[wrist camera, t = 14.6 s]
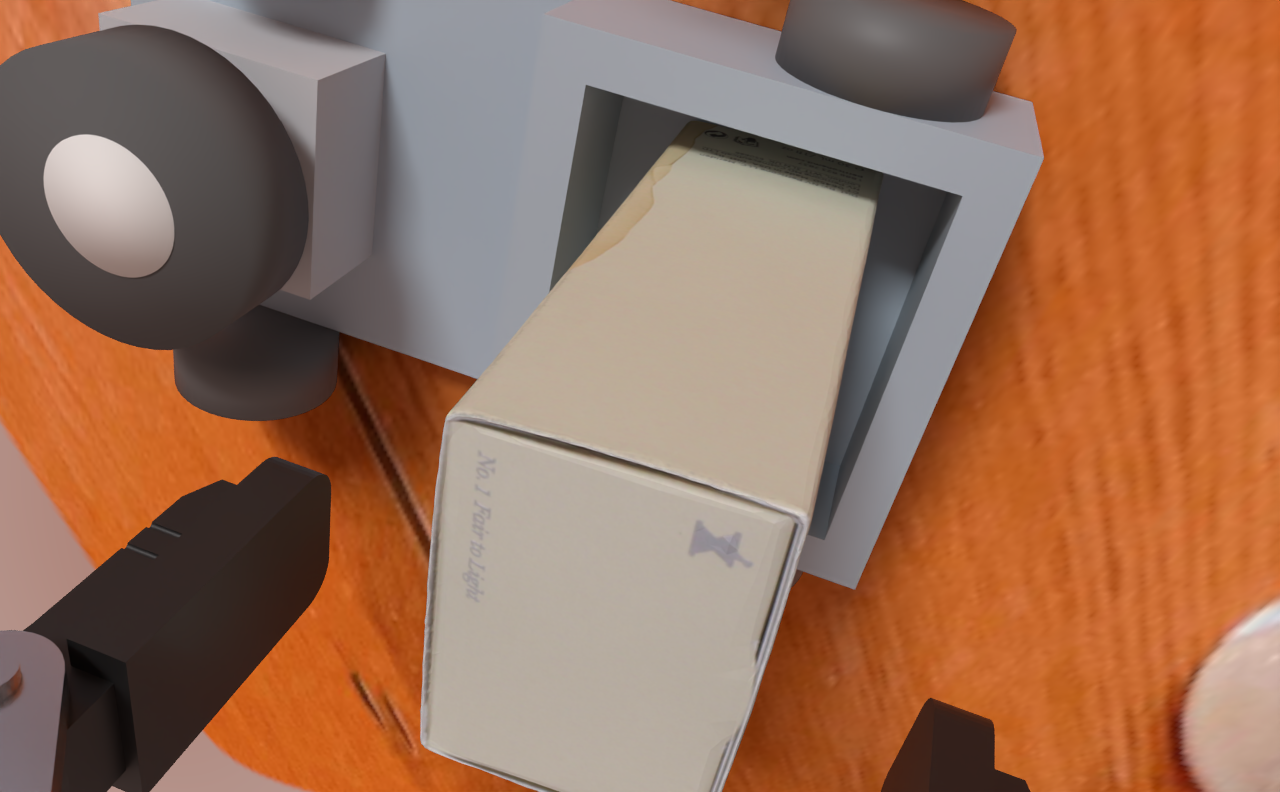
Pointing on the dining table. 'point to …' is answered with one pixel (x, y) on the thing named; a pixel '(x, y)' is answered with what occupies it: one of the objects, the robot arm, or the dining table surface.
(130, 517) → the dining table surface
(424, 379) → the dining table surface
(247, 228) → the wheel
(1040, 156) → the chassis
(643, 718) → the skincare box
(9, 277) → the dining table surface
